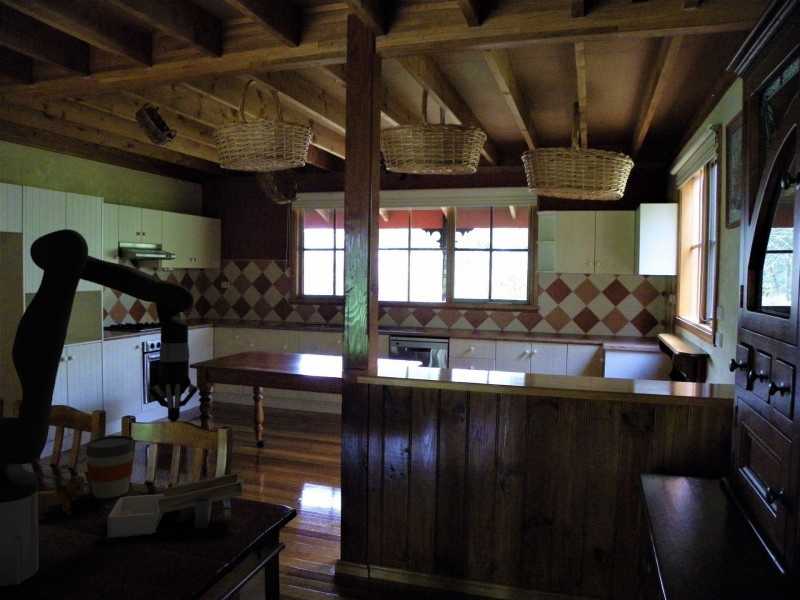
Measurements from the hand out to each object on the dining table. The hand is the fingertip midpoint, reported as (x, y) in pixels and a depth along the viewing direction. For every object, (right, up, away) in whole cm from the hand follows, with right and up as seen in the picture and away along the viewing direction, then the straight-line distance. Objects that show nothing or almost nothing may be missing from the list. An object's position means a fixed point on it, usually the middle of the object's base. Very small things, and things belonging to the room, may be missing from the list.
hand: (173, 421), depth 152 cm
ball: (-7, -21, -13) cm, 26 cm away
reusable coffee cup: (-22, -23, +8) cm, 33 cm away
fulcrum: (+11, -24, -8) cm, 28 cm away
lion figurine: (-29, -23, -7) cm, 37 cm away
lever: (+10, -19, -4) cm, 22 cm away
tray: (-4, -24, -12) cm, 27 cm away
